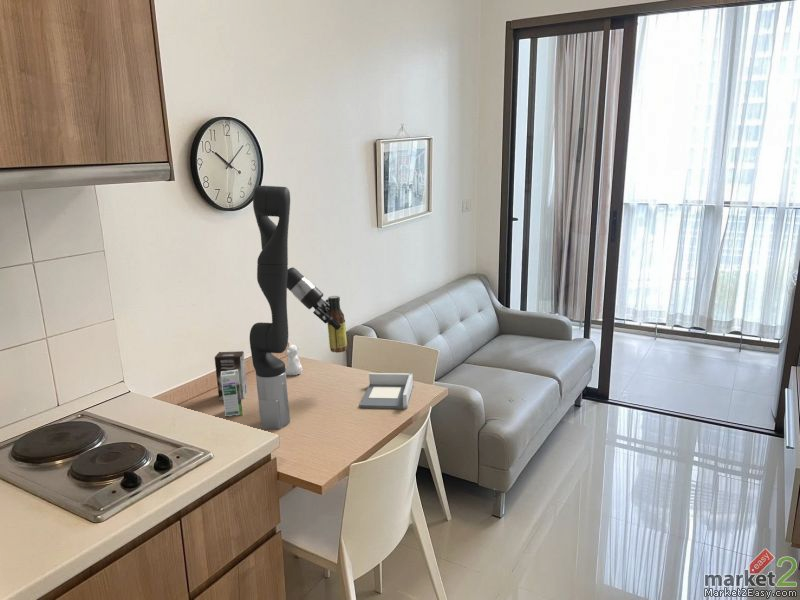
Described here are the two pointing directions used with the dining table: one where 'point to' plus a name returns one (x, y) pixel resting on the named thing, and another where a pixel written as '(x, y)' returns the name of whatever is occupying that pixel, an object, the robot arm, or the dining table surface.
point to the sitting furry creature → (293, 361)
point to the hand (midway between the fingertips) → (341, 325)
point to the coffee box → (231, 362)
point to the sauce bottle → (339, 336)
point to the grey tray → (388, 391)
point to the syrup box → (231, 392)
